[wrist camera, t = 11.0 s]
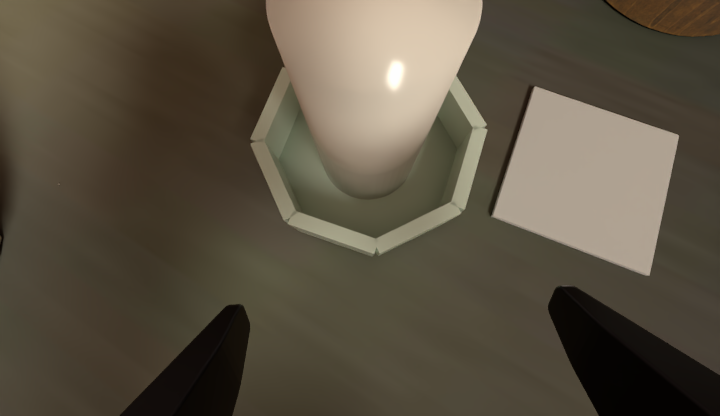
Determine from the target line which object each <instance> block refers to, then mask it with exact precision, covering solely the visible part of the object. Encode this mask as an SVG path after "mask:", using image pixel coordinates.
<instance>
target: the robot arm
mask: <svg viewBox="0 0 720 416" xmlns="http://www.w3.org/2000/svg"><path fill="white" fill-rule="evenodd" d="M548 310H549V314H550V316H551V319H552V321H553V323H554V326H555V328H556V330H557V333H558V335H559V337H560V340H561V342H562V344H563V347H564V349H565V352H566V354H567V356H568V358H569V361H570V363H571V365H572V367H573V369H574V371H575V373H576V375H577V376H578V378H579V380H580V382H581V384H582V386H583V387H584V389H585V391H586V393H587V395H588V397H589V398H590V400H591V402H592V404H593V406H594V408H595V409H596V411H597V413H598V415H599V416H720V375H718V374H717V373H715V372H713V371H712V370H710V369H709V368H707V367H705V366H704V365H702V364H700V363H699V362H697V361H696V360H694V359H692V358H691V357H689V356H687V355H686V354H684V353H683V352H681V351H679V350H678V349H676V348H674V347H673V346H671V345H669V344H668V343H666V342H665V341H663V340H661V339H660V338H658V337H656V336H655V335H653V334H652V333H650V332H648V331H647V330H645V329H643V328H642V327H640V326H639V325H637V324H635V323H634V322H632V321H630V320H629V319H627V318H626V317H624V316H622V315H621V314H619V313H617V312H616V311H614V310H613V309H611V308H609V307H608V306H606V305H604V304H603V303H601V302H600V301H598V300H596V299H595V298H593V297H591V296H590V295H588V294H587V293H585V292H583V291H582V290H580V289H578V288H577V287H575V286H572V285H566V286H558V287H556V288H555V290H554V293H553V295H552V297H551V299H550V302H549V304H548ZM249 333H250V322H249V319H248V317H247V314H246V311H245V309H244V306H243V305H241V304H236V305H228V306H226V307H225V308H224V309H223V310H222V311H221V312H220V313H219V314H218V315H217V316H216V317H215V318H214V319H213V320H212V321H211V322H210V323H209V324H208V325H207V326H206V327H205V328H204V329H203V330H202V331H201V332H200V334H199V335H198V336H197V337H196V338H195V339H194V340H193V341H192V342H191V343H190V344H189V345H188V346H187V347H186V348H185V349H184V350H183V351H182V352H181V353H180V354H179V355H178V356H177V357H176V358H175V359H174V360H173V361H172V362H171V363H170V364H169V365H168V366H167V367H166V368H165V369H164V370H163V371H162V373H161V374H160V375H159V376H158V377H157V378H156V379H155V380H154V381H153V382H152V383H151V384H150V385H149V386H148V387H147V388H146V389H145V390H144V391H143V392H142V393H141V394H140V395H139V396H138V397H137V398H136V399H135V400H134V401H133V402H132V403H131V404H130V405H129V406H128V407H127V408H126V409H125V411H124V412H123V413H122V414H121V415H120V416H232V415H233V411H234V407H235V404H236V400H237V397H238V393H239V389H240V385H241V380H242V374H243V368H244V362H245V356H246V350H247V345H248V339H249Z"/></svg>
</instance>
